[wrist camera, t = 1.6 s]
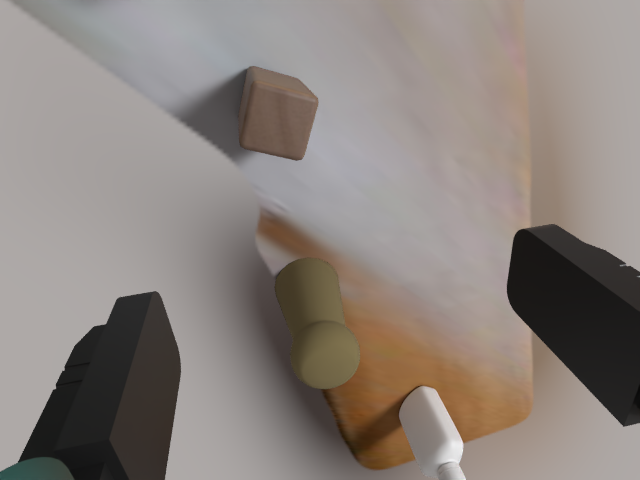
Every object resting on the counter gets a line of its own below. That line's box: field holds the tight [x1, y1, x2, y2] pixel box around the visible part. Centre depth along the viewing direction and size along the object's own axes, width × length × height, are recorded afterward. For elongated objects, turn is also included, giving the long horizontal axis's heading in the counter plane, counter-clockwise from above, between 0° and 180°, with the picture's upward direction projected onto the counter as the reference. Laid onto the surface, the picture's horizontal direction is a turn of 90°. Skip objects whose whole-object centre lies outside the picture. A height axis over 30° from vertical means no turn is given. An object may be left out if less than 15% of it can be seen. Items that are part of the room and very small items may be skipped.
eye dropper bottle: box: [399, 386, 466, 480], centre depth 45 cm, size 4×6×12 cm
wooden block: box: [238, 66, 318, 161], centre depth 28 cm, size 4×4×8 cm
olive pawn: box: [275, 258, 360, 389], centre depth 35 cm, size 6×6×11 cm
